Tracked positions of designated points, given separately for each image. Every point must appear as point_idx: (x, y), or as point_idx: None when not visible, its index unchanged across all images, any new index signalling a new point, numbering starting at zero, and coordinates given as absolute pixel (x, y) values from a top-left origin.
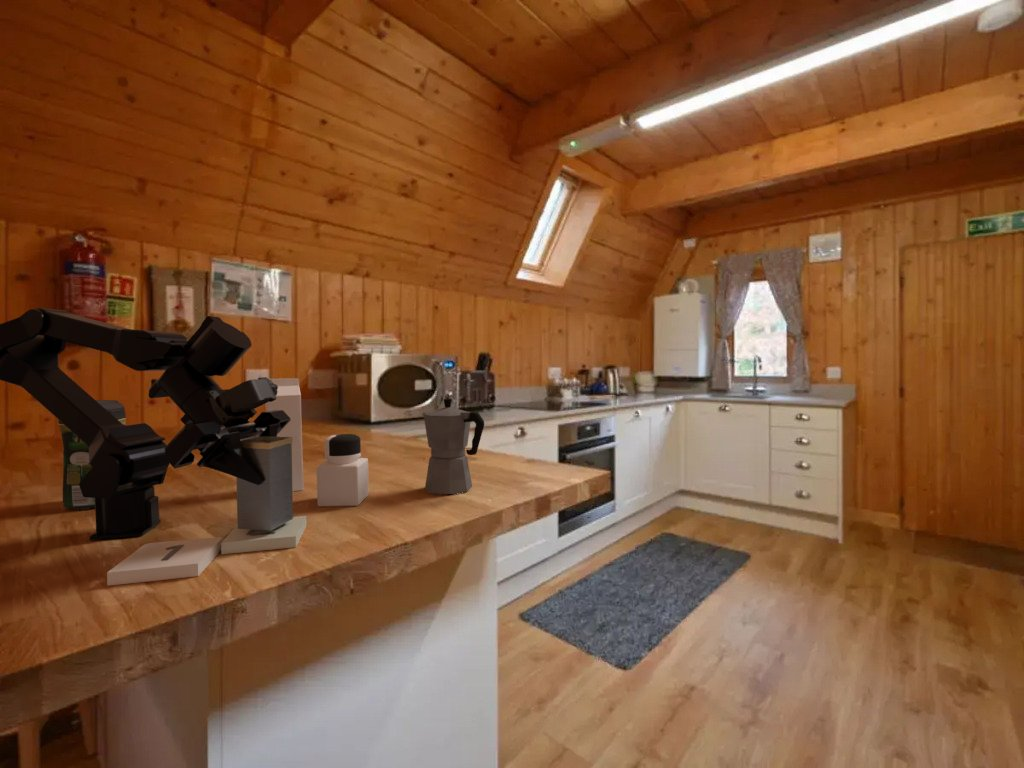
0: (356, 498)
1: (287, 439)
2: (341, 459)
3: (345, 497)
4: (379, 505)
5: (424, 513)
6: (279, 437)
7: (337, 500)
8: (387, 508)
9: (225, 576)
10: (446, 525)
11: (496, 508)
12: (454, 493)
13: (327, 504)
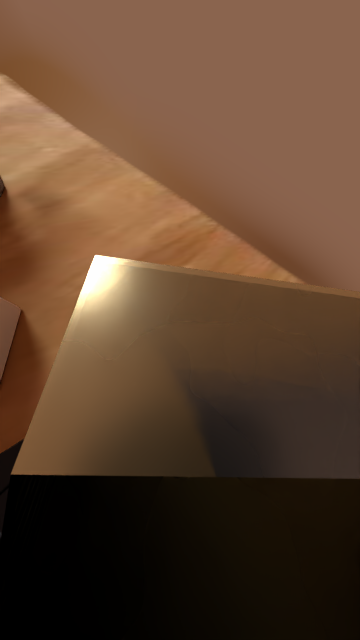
0: (10, 304)
1: (171, 273)
2: None
3: (2, 324)
4: (28, 275)
5: (91, 209)
6: (97, 374)
7: (2, 343)
8: (51, 259)
9: None
10: (147, 182)
11: (88, 143)
12: (2, 183)
13: (2, 366)
